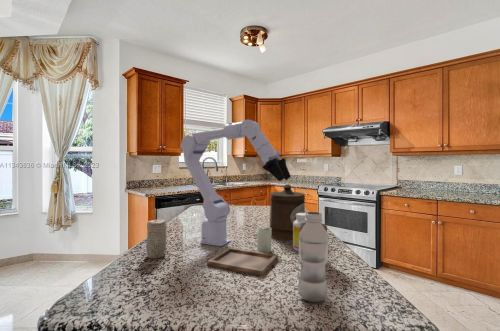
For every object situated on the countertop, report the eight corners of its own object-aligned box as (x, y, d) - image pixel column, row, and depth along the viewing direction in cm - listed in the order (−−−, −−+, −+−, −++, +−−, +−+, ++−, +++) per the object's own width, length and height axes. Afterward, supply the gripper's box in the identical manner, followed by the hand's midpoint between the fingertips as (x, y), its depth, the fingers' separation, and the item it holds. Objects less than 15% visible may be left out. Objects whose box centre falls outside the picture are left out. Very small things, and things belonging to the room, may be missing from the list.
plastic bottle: (294, 292, 64) (295, 210, 64) (321, 291, 65) (322, 210, 65) (302, 307, 58) (303, 216, 58) (332, 305, 59) (333, 215, 58)
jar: (333, 265, 81) (333, 226, 81) (312, 270, 77) (312, 229, 77) (314, 256, 89) (314, 220, 89) (294, 260, 85) (294, 223, 85)
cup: (255, 251, 93) (255, 229, 93) (260, 247, 97) (260, 226, 97) (268, 254, 91) (268, 230, 91) (273, 249, 95) (273, 227, 95)
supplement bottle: (311, 253, 92) (312, 216, 91) (292, 251, 93) (292, 215, 93) (311, 247, 98) (311, 212, 98) (293, 245, 100) (293, 212, 99)
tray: (207, 265, 80) (207, 260, 80) (229, 251, 93) (229, 247, 93) (262, 276, 73) (262, 271, 73) (277, 259, 86) (277, 254, 86)
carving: (145, 261, 84) (145, 223, 84) (147, 253, 91) (147, 218, 91) (166, 259, 86) (166, 222, 86) (166, 251, 93) (166, 217, 93)
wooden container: (301, 242, 104) (302, 186, 104) (265, 238, 109) (265, 185, 109) (306, 232, 118) (307, 183, 117) (274, 229, 123) (274, 182, 123)
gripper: (264, 139, 87) (288, 173, 83) (278, 142, 100) (299, 171, 97) (249, 152, 89) (271, 185, 86) (264, 153, 102) (284, 182, 99)
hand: (285, 179), depth 91 cm, fingers open, 7 cm apart
